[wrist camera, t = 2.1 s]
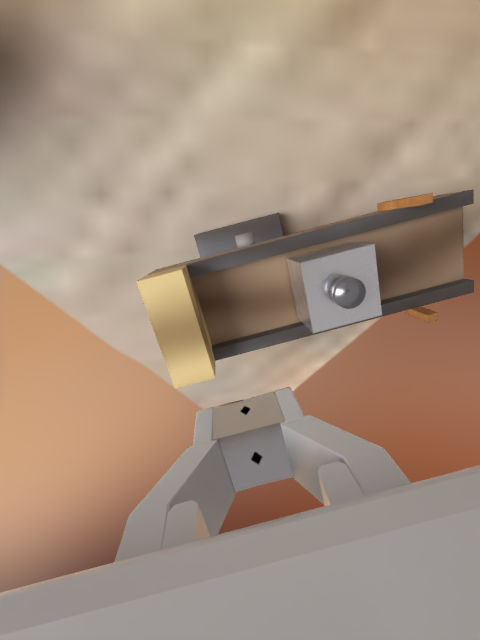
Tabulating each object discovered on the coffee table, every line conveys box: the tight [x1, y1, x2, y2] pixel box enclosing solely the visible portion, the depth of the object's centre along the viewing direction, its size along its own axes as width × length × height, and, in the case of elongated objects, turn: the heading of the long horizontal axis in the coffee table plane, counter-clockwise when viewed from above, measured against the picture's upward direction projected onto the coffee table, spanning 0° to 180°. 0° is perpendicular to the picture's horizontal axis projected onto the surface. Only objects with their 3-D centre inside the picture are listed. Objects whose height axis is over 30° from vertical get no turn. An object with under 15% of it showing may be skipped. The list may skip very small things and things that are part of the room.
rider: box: [286, 242, 382, 333], centre depth 21 cm, size 5×5×5 cm
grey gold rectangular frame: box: [137, 190, 474, 389], centre depth 26 cm, size 12×25×14 cm, turn 104°
